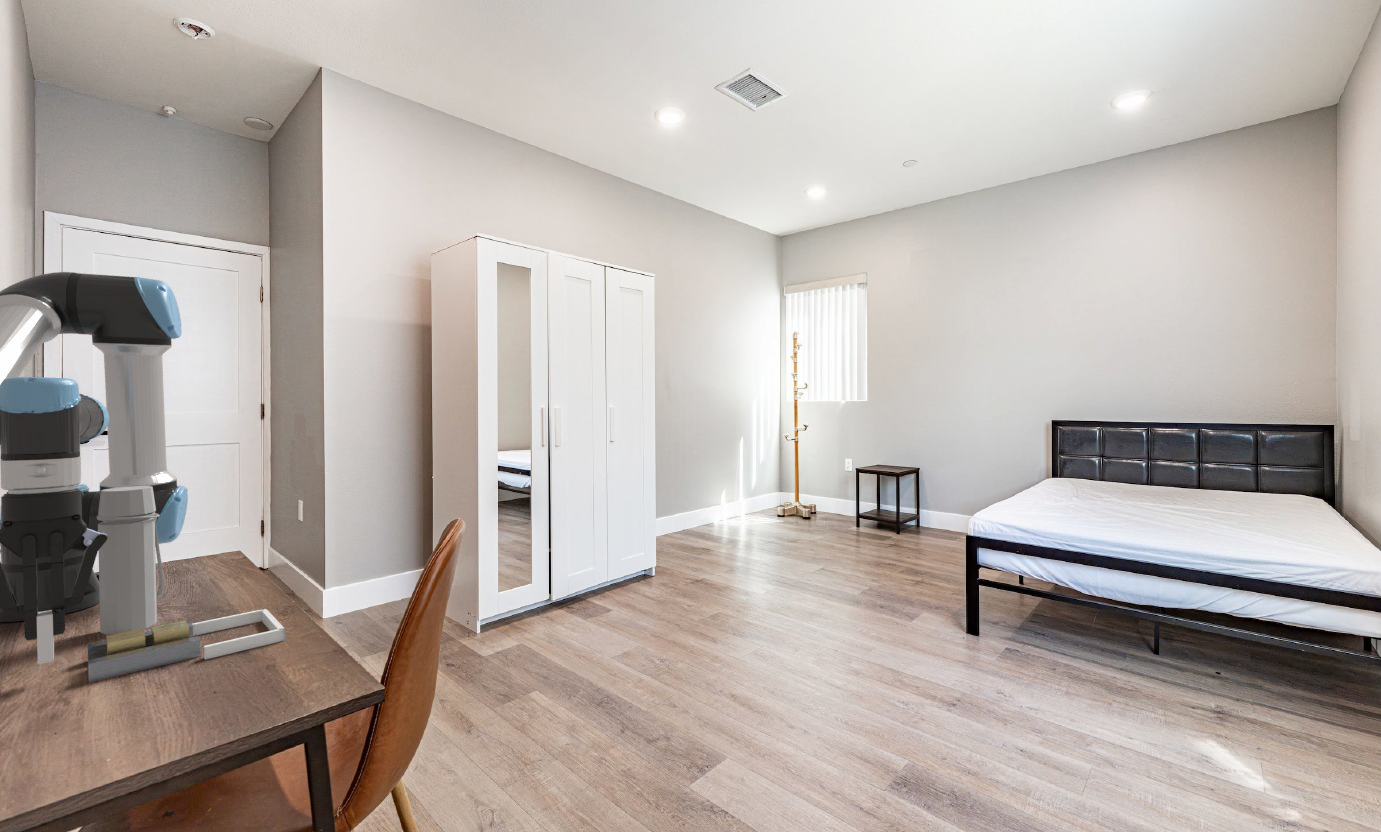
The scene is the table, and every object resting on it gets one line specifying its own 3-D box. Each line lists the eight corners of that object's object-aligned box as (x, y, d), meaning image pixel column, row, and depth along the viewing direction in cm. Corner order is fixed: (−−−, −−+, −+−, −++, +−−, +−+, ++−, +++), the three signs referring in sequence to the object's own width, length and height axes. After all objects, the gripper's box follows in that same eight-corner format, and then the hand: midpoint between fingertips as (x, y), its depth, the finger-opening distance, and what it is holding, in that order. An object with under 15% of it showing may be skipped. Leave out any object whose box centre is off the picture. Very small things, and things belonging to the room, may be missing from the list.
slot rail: (87, 668, 90) (87, 644, 90) (191, 645, 98) (191, 622, 98) (89, 690, 83) (88, 664, 83) (200, 663, 91) (200, 639, 91)
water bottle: (123, 643, 99) (120, 492, 99) (86, 639, 101) (83, 491, 100) (181, 623, 108) (178, 484, 108) (146, 620, 110) (143, 483, 109)
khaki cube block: (152, 652, 93) (151, 626, 93) (186, 644, 96) (185, 619, 95) (154, 660, 90) (154, 633, 90) (189, 652, 93) (188, 626, 93)
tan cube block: (107, 662, 89) (106, 635, 89) (143, 654, 92) (142, 628, 92) (108, 670, 86) (107, 643, 86) (145, 662, 89) (145, 635, 89)
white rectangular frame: (192, 641, 100) (192, 623, 100) (266, 625, 107) (266, 608, 107) (205, 667, 90) (204, 647, 90) (285, 647, 97) (285, 628, 97)
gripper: (-36, 497, 76) (-31, 684, 76) (109, 487, 85) (112, 653, 85) (-28, 492, 81) (-24, 666, 81) (107, 482, 90) (110, 639, 90)
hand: (46, 659), depth 83 cm, fingers closed
